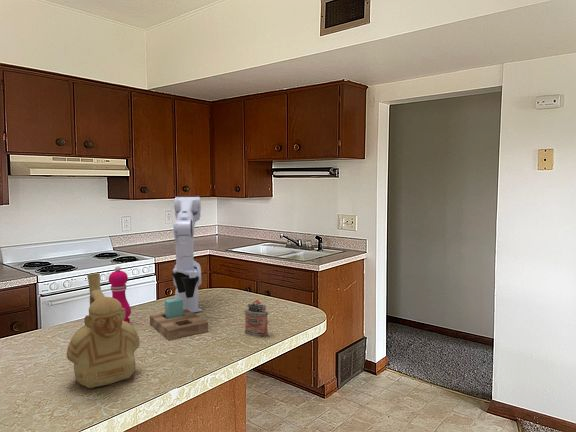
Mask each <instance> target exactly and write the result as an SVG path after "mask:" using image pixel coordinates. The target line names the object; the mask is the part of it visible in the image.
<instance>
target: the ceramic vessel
mask: <svg viewBox="0 0 576 432" xmlns="http://www.w3.org/2000/svg"><path fill="white" fill-rule="evenodd" d="M86 278H87V281H88V287H89V290H88V291H89V307H88V315H85V316H84V319H83V320H84V321H83V322H84V325H82V326H81V327H80V328H79V329H77V330H76V331H75V332H74V333H73V335H72V337H71V339H70V341H69V343H68V345H67V350H66V354H65V355H66V358H67V360H68V361H69V362H71V363H73V372H74V377H75V380H76V382H77V383H78V384H80V385H81V386H83V387H86V388H88V389H94V388H98V387H102V386H107V385H111V384H114V383H118V382H121V381H125V380H128V379H129V378H131V377H132V375H133V373H134V372H135V370H136V357H135V351H136V350H137V349H139V347H140V337H139V335H138V332H137V330H136V328H135V327H134V326H133V325H132V324H131V323H130V324H129V323H128V322H126V321H123V320H124V319H125V315H126V310H125V309H124V308H122V305H121V303H120V302H119V301H118V300H117V299H115V298H112V297H111V296H105V294H104V293H103V291H102V286H101V274H100V272H95V273H91V274H87V277H86Z"/></svg>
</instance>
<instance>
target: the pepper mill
mask: <svg viewBox="0 0 576 432" xmlns="http://www.w3.org/2000/svg"><path fill="white" fill-rule="evenodd" d="M128 279H129V277H128V274H127V272H125V271H123V270H122V269H121V266H115V268H114V271H112V272H111V273H110V274H109V276H108V283H109V284H110V291H111V292H112V294H111V295H112V298H115V299H117V300H118V301H119V302H120V303H121V305H122V308H124V309H125V310H126V315H125V319H124V320H123V321H126V322H128V323H129V324H131V322H130V321H131V320H130V316H131V313H132V308H131V306H130V303H129V301H128V300H127V296H126V290H127V283H128Z"/></svg>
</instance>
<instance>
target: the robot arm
mask: <svg viewBox="0 0 576 432" xmlns="http://www.w3.org/2000/svg"><path fill="white" fill-rule="evenodd" d="M201 202H202V201H201V197H200V196H175V198H174V201H173V207H174V213H175V214H174V216H175V221H174V222H173V236H174V243H175V263H176V264H175V265H174V268H173V269H172V273H171V275H172V277H173V280H172V281H173V285H174V287H176V289H175V291H174V294H175V295H174V299H175V298H180V299H182V300H183V309H187V310H189V311H191V312H192V313H194V314H195V313H200V312H202V311H203V309H202V308H200V307H199V287H200V286H201V285H202V267H201V264H200V263H199V262H197V261H196V260H195V259H194V257H195V256H194V255H195V254H194V252H195V250H194V247H195V246H194V245H195V244H194V241H195V240H194V239H195V238H194V237H195V235H194V234H195V225H196V222H197V221H200V220H201V219H200V218H201V211H202V210H201V209H202V206H201V204H202V203H201Z"/></svg>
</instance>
